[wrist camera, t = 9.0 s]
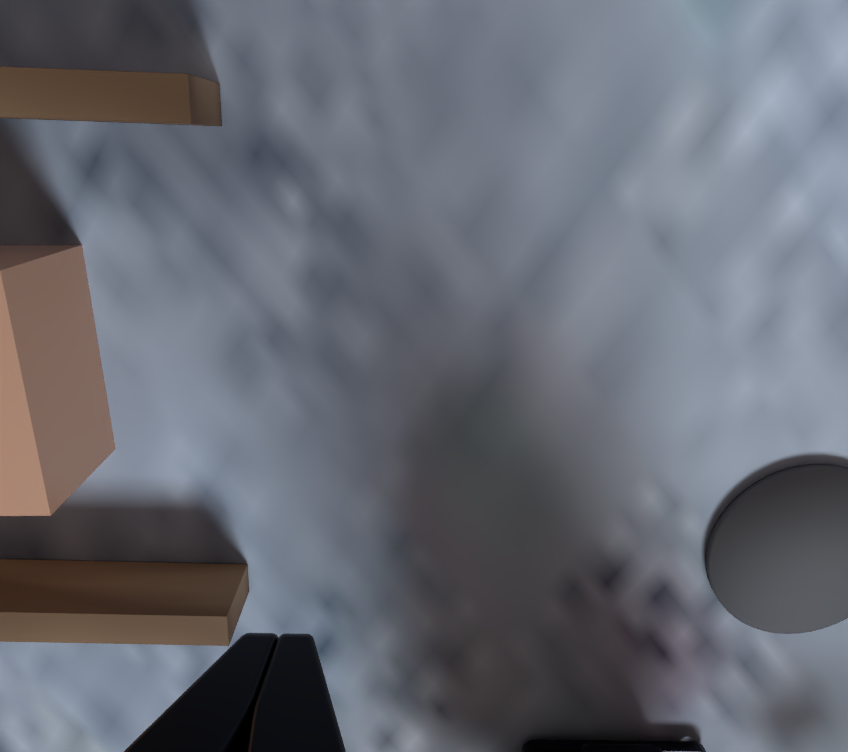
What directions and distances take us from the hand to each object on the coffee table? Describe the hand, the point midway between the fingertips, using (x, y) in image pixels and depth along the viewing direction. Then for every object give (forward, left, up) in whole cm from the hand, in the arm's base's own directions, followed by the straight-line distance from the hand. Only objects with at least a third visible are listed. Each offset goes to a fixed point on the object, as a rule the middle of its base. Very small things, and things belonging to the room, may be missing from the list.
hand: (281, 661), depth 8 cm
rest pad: (-6, -14, -12) cm, 19 cm away
